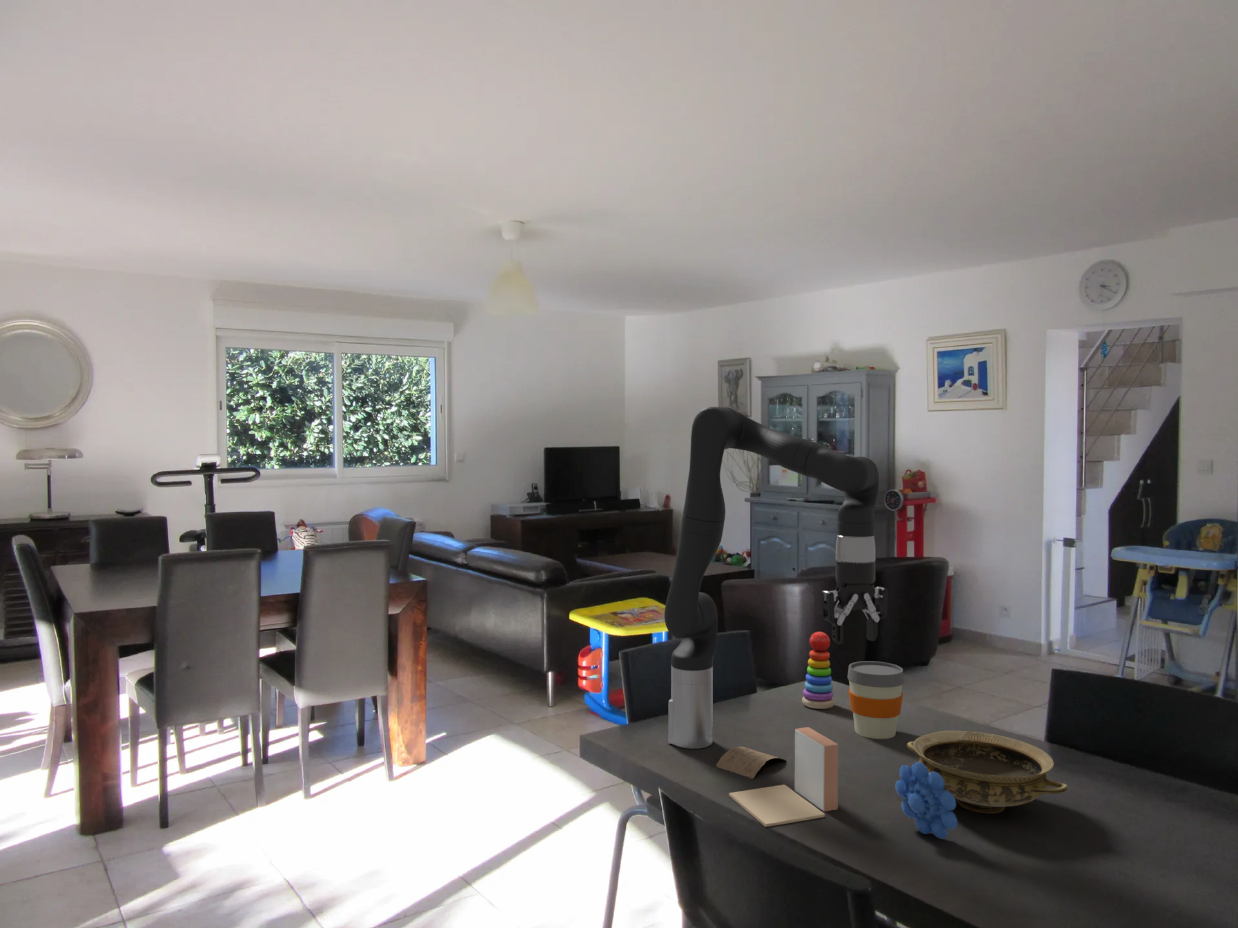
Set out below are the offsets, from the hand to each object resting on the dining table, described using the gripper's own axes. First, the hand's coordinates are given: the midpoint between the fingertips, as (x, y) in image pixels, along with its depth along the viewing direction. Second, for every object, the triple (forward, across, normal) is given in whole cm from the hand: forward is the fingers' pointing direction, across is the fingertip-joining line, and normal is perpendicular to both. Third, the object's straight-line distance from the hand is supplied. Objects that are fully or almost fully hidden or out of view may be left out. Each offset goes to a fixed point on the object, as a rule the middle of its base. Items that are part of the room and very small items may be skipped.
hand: (854, 641), depth 168 cm
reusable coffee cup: (+28, -22, -22) cm, 42 cm away
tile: (+28, +12, +5) cm, 31 cm away
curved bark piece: (+29, +15, -15) cm, 36 cm away
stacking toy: (+28, -20, -44) cm, 56 cm away
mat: (+28, +20, +5) cm, 35 cm away
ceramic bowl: (+28, -16, +17) cm, 36 cm away
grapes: (+28, +3, +24) cm, 37 cm away
